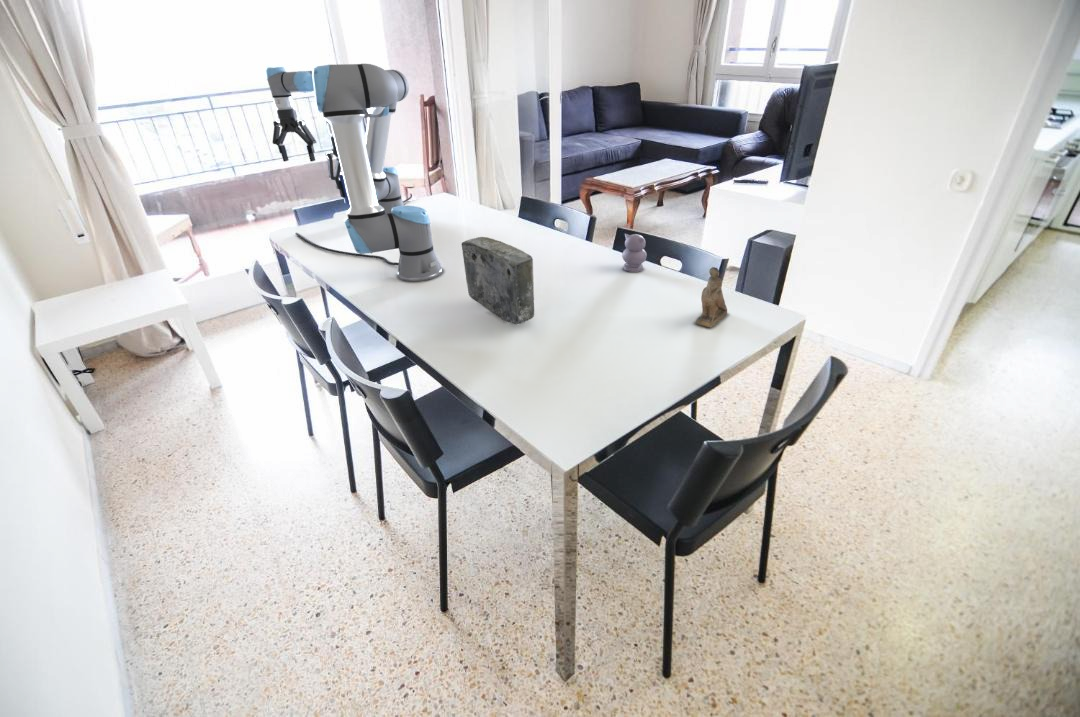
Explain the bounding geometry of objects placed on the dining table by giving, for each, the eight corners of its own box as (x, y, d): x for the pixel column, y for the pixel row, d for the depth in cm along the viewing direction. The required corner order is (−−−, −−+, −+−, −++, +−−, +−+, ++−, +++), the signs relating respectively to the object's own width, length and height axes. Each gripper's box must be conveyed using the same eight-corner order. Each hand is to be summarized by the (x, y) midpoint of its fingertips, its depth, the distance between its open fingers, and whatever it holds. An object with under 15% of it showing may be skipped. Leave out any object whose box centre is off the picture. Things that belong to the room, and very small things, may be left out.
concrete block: (541, 325, 139) (539, 257, 129) (515, 335, 135) (510, 265, 124) (492, 295, 158) (486, 233, 147) (468, 303, 153) (460, 240, 143)
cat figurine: (650, 268, 173) (653, 234, 167) (637, 274, 168) (640, 240, 162) (629, 262, 178) (631, 229, 172) (616, 269, 173) (618, 235, 167)
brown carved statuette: (709, 335, 136) (713, 280, 124) (691, 329, 139) (693, 274, 128) (730, 313, 142) (736, 258, 130) (712, 307, 145) (716, 253, 133)
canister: (364, 203, 202) (357, 173, 197) (343, 205, 201) (336, 175, 195) (365, 198, 209) (359, 170, 203) (346, 200, 208) (339, 171, 202)
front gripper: (362, 131, 200) (374, 189, 212) (309, 137, 189) (324, 198, 201) (369, 132, 195) (381, 192, 207) (315, 138, 184) (331, 201, 196)
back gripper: (254, 109, 212) (269, 162, 223) (306, 108, 207) (319, 162, 218) (265, 108, 218) (280, 159, 229) (316, 107, 213) (328, 159, 225)
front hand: (353, 195), depth 204 cm, fingers closed on canister, 8 cm apart
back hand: (299, 161), depth 224 cm, fingers open, 13 cm apart
